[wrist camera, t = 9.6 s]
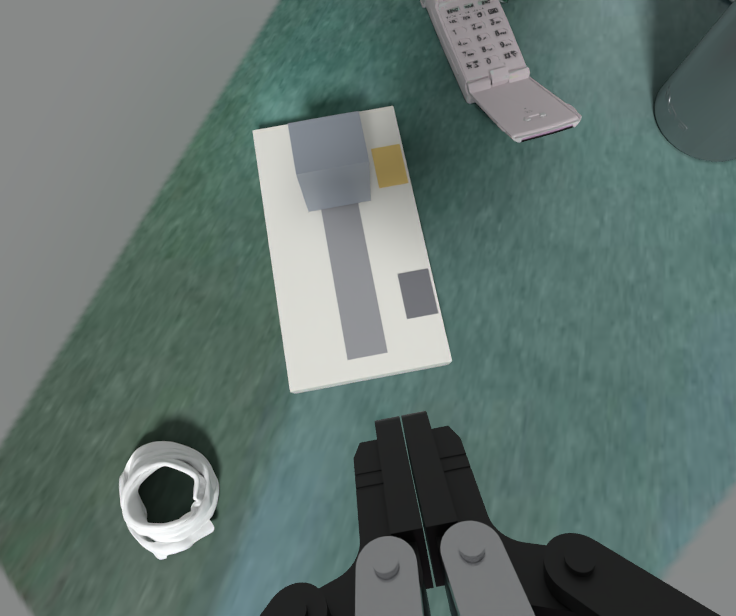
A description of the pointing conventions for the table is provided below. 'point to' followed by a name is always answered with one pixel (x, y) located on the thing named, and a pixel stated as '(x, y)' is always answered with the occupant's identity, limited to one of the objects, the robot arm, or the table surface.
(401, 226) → the switch housing
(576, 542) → the robot arm
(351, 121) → the switch tab
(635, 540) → the table surface
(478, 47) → the mobile phone
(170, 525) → the white folded ring
